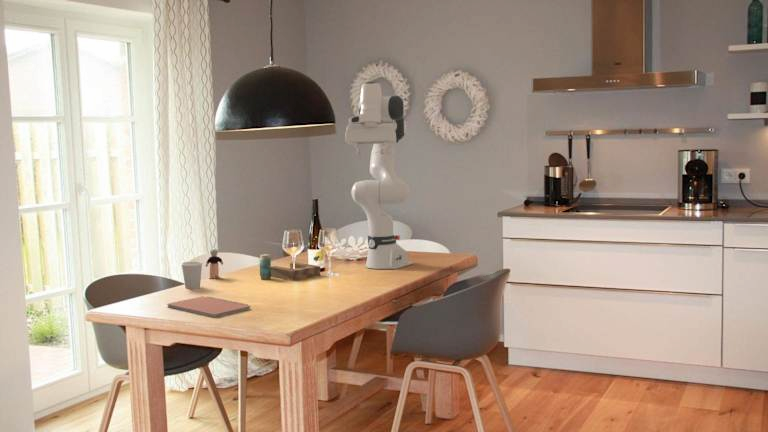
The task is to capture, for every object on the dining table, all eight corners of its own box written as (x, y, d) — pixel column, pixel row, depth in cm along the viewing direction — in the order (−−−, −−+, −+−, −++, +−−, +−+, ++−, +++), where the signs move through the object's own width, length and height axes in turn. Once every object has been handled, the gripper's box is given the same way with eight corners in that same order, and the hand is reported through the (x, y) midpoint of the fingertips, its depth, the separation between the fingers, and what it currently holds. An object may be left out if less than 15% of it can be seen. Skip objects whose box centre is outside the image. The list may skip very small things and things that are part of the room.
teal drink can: (266, 277, 344) (265, 253, 343) (273, 278, 341) (272, 255, 340) (257, 278, 341) (257, 255, 340) (264, 280, 338) (263, 256, 337)
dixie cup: (177, 289, 322) (176, 264, 321) (189, 285, 330) (188, 260, 329) (195, 290, 319) (194, 265, 318) (207, 286, 327) (206, 261, 326)
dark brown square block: (296, 271, 357) (296, 262, 357) (320, 275, 346) (320, 266, 346) (269, 276, 347) (268, 266, 346) (292, 280, 336) (292, 271, 335)
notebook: (253, 310, 286) (253, 304, 286) (214, 319, 273) (214, 313, 273) (205, 300, 303) (204, 295, 303) (166, 308, 291) (166, 303, 290)
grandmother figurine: (209, 279, 341) (208, 249, 340) (204, 278, 344) (203, 248, 343) (225, 277, 346) (224, 247, 345) (220, 275, 349) (219, 246, 348)
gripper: (397, 122, 327) (397, 155, 324) (347, 123, 329) (346, 156, 326) (396, 117, 321) (396, 151, 318) (344, 118, 323) (344, 152, 320)
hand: (370, 154), depth 322 cm, fingers open, 8 cm apart
